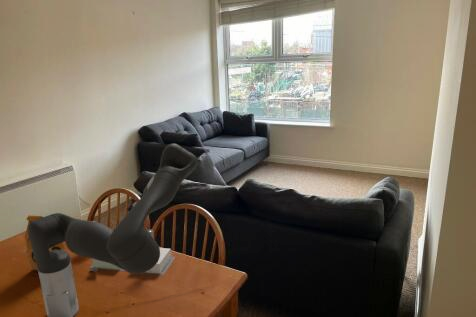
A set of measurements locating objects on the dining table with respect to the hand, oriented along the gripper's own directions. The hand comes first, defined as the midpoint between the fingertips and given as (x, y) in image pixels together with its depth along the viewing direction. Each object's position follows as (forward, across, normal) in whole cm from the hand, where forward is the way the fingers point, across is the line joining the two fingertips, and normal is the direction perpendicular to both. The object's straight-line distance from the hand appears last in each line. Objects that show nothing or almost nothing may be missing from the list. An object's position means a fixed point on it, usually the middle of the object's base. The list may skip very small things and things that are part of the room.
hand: (142, 211), depth 129 cm
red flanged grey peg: (+20, +4, -15) cm, 25 cm away
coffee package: (+43, -22, +6) cm, 49 cm away
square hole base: (+26, 0, -11) cm, 28 cm away
